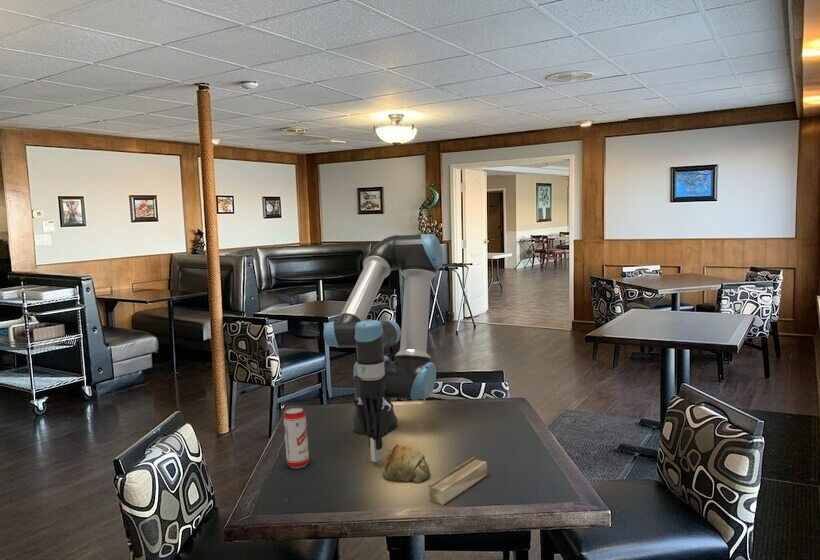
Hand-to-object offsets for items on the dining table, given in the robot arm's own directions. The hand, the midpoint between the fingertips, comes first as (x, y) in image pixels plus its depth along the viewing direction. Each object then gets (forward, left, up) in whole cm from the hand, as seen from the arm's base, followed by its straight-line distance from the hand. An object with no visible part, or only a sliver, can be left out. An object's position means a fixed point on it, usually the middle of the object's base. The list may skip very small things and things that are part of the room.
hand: (376, 459), depth 173 cm
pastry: (+11, -1, -2) cm, 11 cm away
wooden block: (+28, 0, -2) cm, 28 cm away
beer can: (-19, -12, -2) cm, 23 cm away
